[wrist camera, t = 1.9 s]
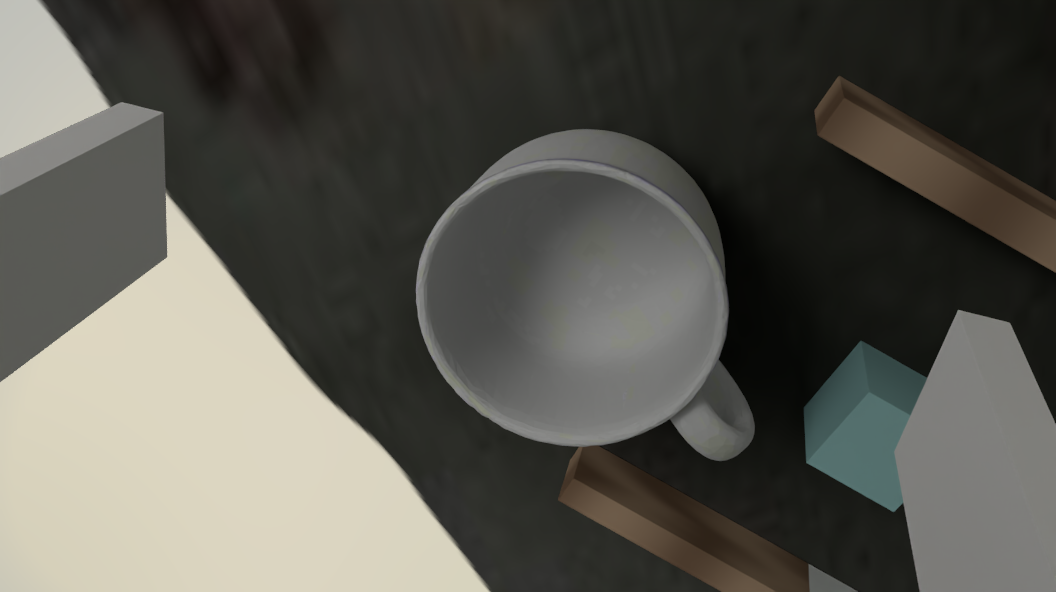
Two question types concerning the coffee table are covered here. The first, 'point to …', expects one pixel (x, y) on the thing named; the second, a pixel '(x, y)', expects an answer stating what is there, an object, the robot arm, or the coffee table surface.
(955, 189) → the slot rails
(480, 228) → the teacup
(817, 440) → the block
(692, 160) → the coffee table surface
